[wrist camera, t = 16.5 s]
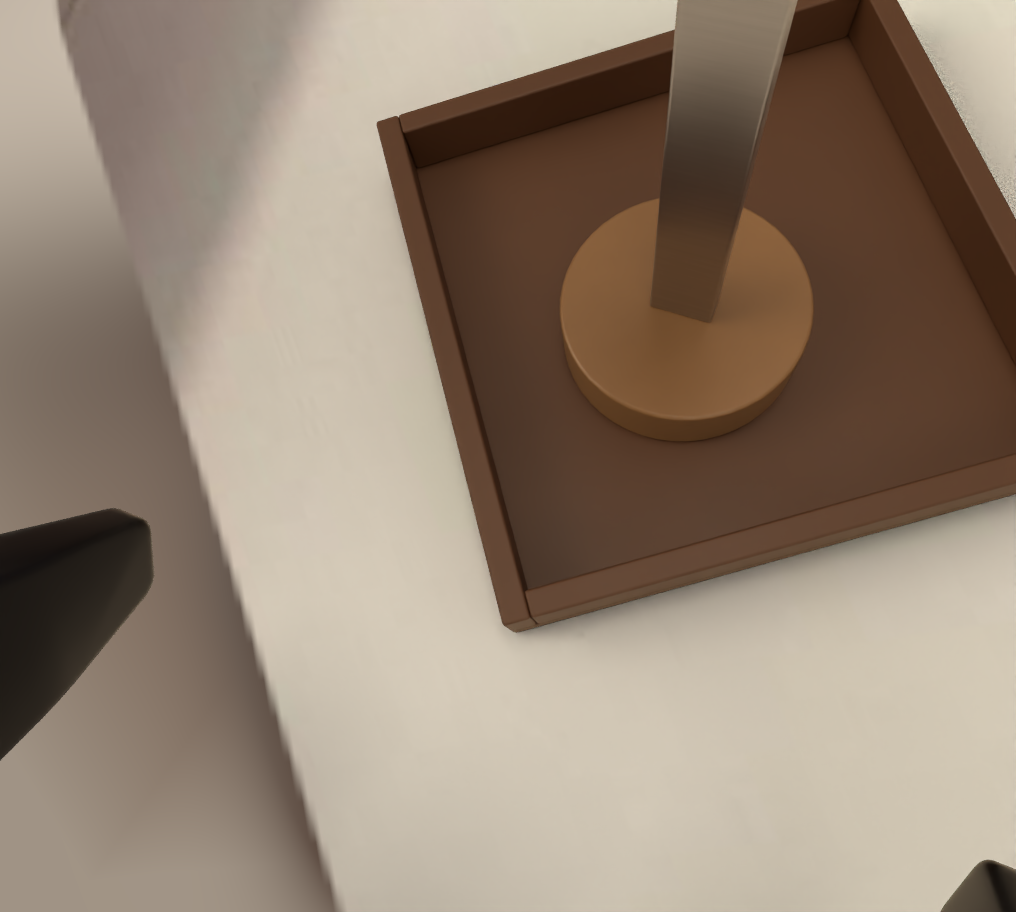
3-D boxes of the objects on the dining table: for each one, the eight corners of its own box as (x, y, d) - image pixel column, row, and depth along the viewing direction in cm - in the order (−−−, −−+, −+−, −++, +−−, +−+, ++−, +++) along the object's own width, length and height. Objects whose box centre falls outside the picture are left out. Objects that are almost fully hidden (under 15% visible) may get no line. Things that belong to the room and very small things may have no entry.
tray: (514, 633, 18) (502, 626, 16) (395, 170, 22) (375, 121, 20) (1085, 474, 18) (1141, 448, 16) (855, 28, 22) (879, -36, 20)
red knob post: (760, 474, 18) (1408, -517, 3) (530, 400, 19) (256, -565, 5) (826, 265, 19) (1514, -1133, 5) (607, 208, 21) (589, -1041, 6)
